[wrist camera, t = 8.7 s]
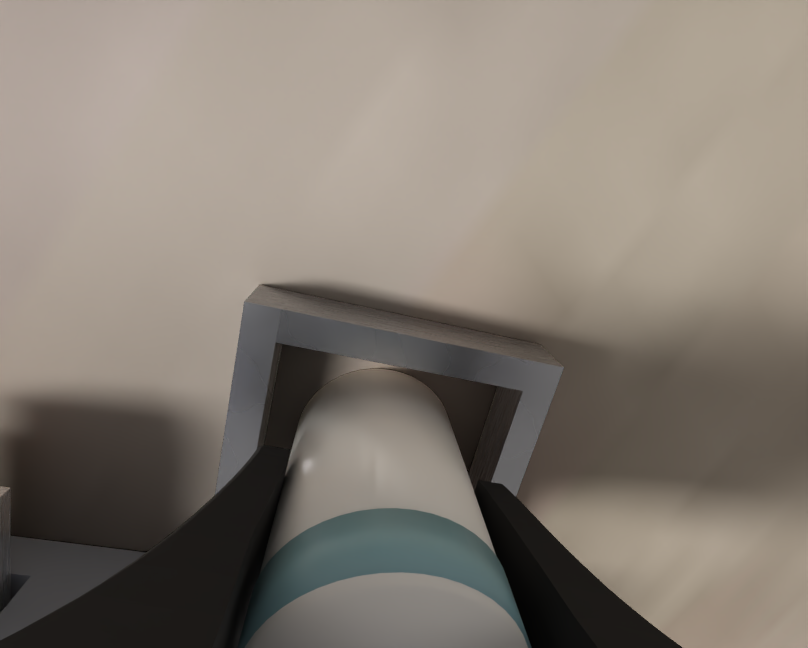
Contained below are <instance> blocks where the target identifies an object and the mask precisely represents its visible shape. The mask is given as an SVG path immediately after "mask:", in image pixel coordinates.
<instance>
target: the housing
mask: <svg viewBox="0 0 808 648" xmlns="http://www.w3.org/2000/svg"><path fill="white" fill-rule="evenodd" d="M145 553H146V552H138V551H130V550H122V549H114V548H106V547H98V546H90V545H82V544H73V543H65V542H57V541H49V540H41V539H33V538H25V537H17V536H11V601H10V602H9V603H8V604H7V606H6V607H5V608H4V609H3V611H2V612H1V613H0V640H2V639H4V638H6V637H8V636H10V635H12V634H14V633H16V632H17V631H19V630H21V629H23V628H25V627H27V626H28V625H30V624H32V623H34V622H36V621H37V620H39V619H41V618H43V617H44V616H46V615H48V614H50V613H52V612H53V611H55V610H57V609H59V608H60V607H62V606H64V605H66V604H68V603H69V602H71V601H73V600H75V599H76V598H78V597H80V596H81V595H83V594H85V593H86V592H88V591H90V590H91V589H93V588H94V587H96V586H98V585H99V584H101V583H102V582H104V581H105V580H107V579H108V578H110V577H111V576H113V575H114V574H116V573H117V572H119V571H120V570H122V569H123V568H125V567H126V566H128V565H129V564H131V563H132V562H134V561H135V560H137V559H138V558H139V557H141V556H142V555H144V554H145Z"/></svg>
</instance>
